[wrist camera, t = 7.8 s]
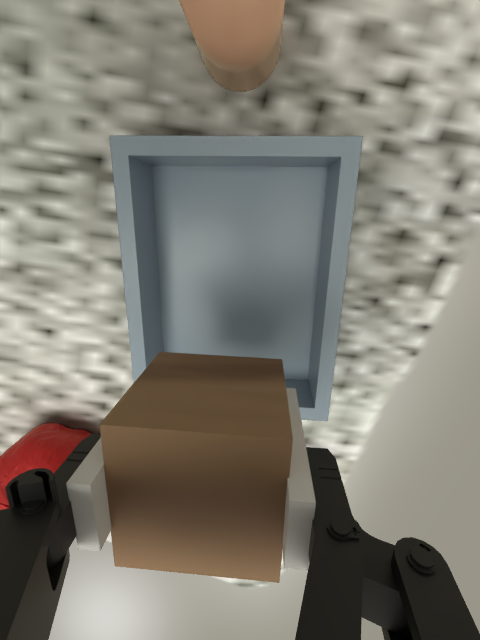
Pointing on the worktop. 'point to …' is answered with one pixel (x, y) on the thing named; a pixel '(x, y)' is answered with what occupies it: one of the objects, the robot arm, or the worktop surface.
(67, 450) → the pomegranate
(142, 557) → the walnut cube
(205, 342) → the tote
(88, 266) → the worktop surface
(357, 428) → the worktop surface
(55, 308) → the worktop surface
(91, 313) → the worktop surface
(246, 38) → the terracotta cylinder
